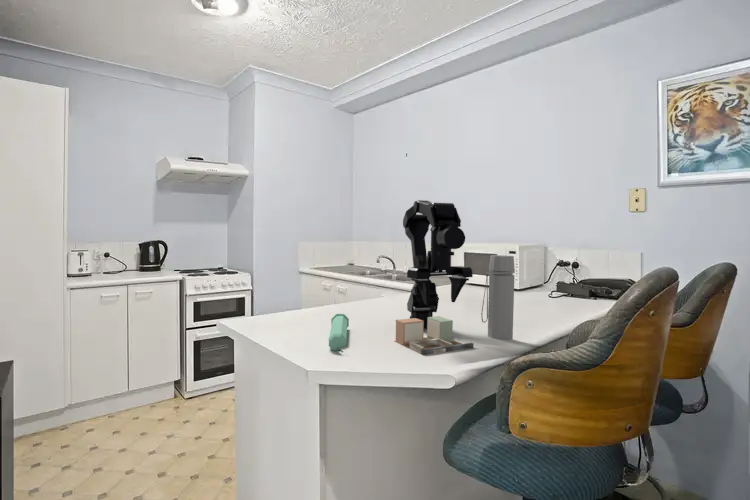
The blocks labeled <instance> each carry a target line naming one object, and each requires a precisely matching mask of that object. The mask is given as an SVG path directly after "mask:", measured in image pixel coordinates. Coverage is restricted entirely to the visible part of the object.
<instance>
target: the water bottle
mask: <svg viewBox="0 0 750 500" xmlns="http://www.w3.org/2000/svg"><path fill="white" fill-rule="evenodd" d="M488 270H489V271H486V272H485V277H486V279H485V286H484V291H483V292H484V295H483V300H482V305H481V314H480V315H481V323H487V337H488V338H491V339H496V340H503V341H505V340H513V339H514V338H513V337H514V336H513V335H514V333H513V332H514V309H515V308H514V306H515V305H514V304H515V303H514V302H515V275H514V274H515V273H516V269H515V256H514V255H506V254H505V255H504V254H499V255H498V254H495V255H493V254H491V255H490V259H489V266H488ZM488 278H489V279H488ZM485 297H486V320H485V321H484V319H483V310H484V304H485Z"/></svg>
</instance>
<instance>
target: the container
mask: <svg viewBox="0 0 750 500" xmlns="http://www.w3.org/2000/svg"><path fill="white" fill-rule="evenodd" d="M330 321H331V322H330V323H331V327H330V332H329V336H328V347H329V348H330V349H331V350H332V351H334V352H341V351H342V349H341V348H345V347H347V338H348V328H349V325H350V324H349V323H350V322H349V321H350V318H349V317H348V316H347V315H346V314H345V313H335V315H333V317H331V320H330Z"/></svg>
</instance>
